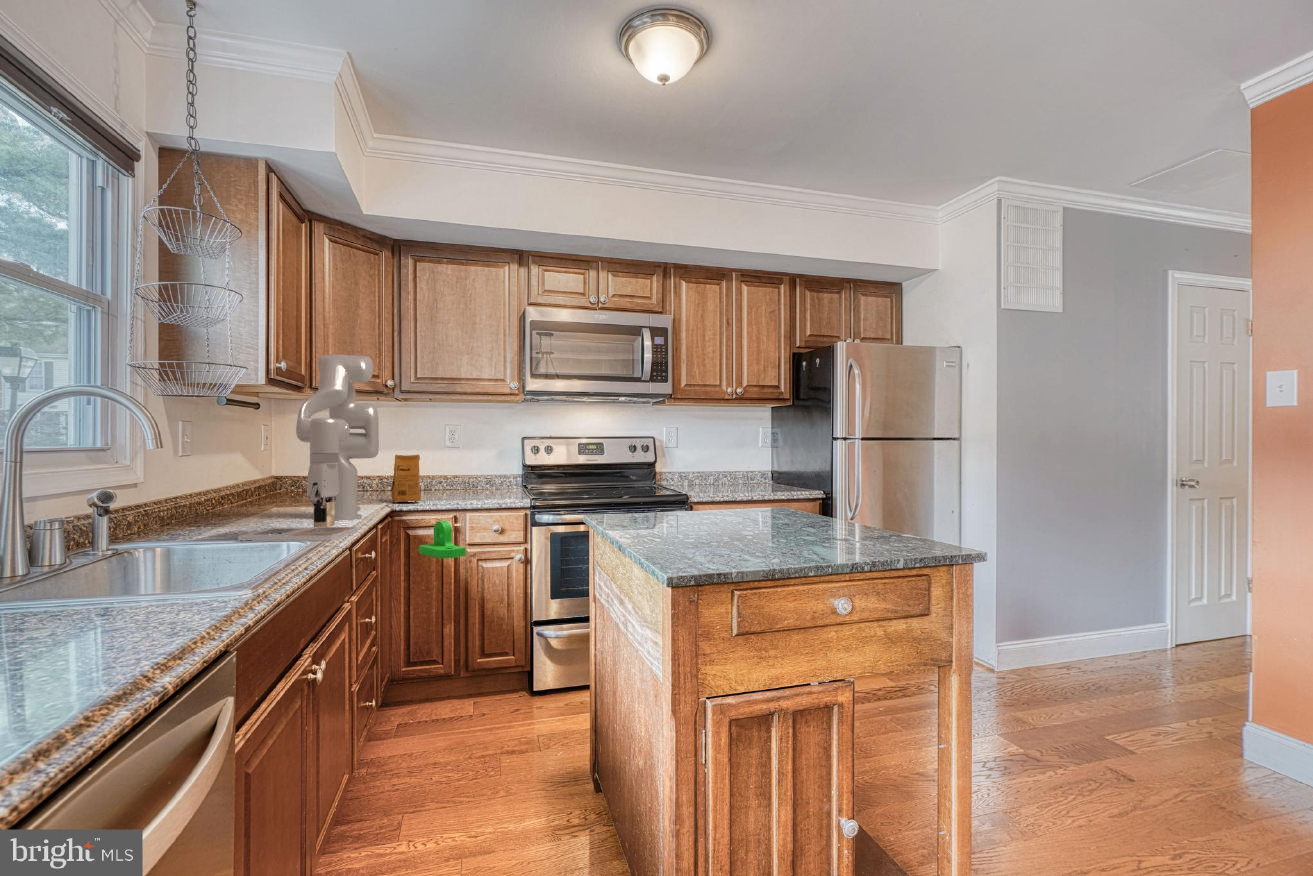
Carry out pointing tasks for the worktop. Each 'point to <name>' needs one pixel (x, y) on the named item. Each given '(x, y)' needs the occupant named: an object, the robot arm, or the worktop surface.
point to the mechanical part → (442, 543)
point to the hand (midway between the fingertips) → (324, 520)
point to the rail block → (300, 534)
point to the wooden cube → (327, 516)
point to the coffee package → (406, 479)
